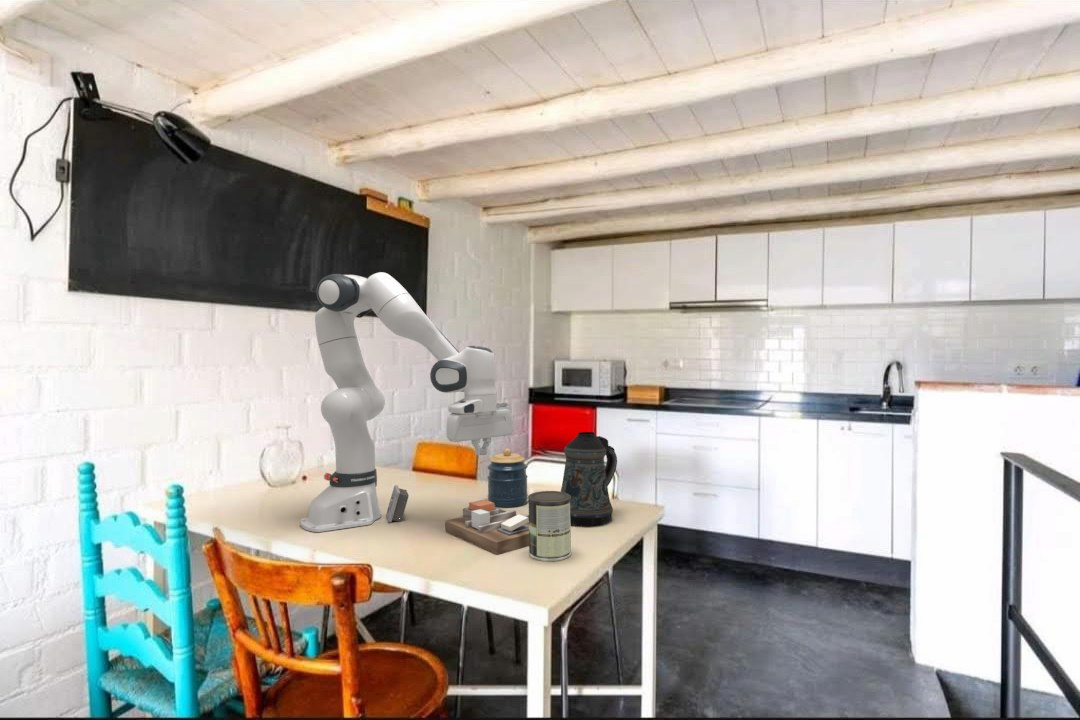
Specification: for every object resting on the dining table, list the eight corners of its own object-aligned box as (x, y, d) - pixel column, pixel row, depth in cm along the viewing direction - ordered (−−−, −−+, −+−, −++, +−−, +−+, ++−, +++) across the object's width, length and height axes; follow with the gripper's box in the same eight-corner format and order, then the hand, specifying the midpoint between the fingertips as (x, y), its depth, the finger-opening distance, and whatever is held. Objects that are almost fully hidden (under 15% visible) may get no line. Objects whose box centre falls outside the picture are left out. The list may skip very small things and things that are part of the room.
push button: (479, 515, 157) (479, 506, 157) (469, 511, 161) (469, 502, 161) (494, 511, 160) (494, 502, 160) (484, 508, 164) (484, 499, 164)
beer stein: (546, 523, 165) (545, 435, 165) (573, 506, 183) (572, 427, 182) (601, 530, 158) (600, 438, 158) (623, 512, 176) (623, 429, 175)
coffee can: (519, 555, 139) (519, 496, 139) (546, 544, 147) (546, 488, 147) (553, 565, 133) (553, 503, 133) (579, 552, 141) (579, 494, 141)
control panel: (496, 554, 140) (496, 532, 140) (445, 531, 158) (445, 511, 158) (553, 538, 151) (552, 517, 151) (498, 518, 170) (498, 500, 170)
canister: (502, 495, 197) (502, 444, 197) (535, 500, 190) (534, 446, 190) (479, 504, 186) (479, 449, 186) (513, 510, 179) (512, 453, 179)
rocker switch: (510, 531, 146) (510, 526, 146) (501, 527, 149) (500, 523, 149) (529, 521, 149) (528, 517, 149) (519, 518, 153) (518, 514, 152)
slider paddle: (480, 529, 149) (480, 514, 149) (471, 526, 152) (471, 511, 152) (489, 527, 151) (489, 512, 151) (481, 524, 154) (480, 509, 154)
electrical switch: (386, 515, 175) (388, 484, 175) (403, 515, 177) (406, 484, 177) (388, 524, 166) (390, 491, 166) (406, 523, 168) (409, 491, 168)
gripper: (504, 401, 169) (505, 448, 169) (442, 406, 156) (443, 457, 156) (517, 402, 164) (518, 451, 165) (455, 408, 151) (456, 461, 151)
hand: (481, 454), depth 160 cm, fingers closed
